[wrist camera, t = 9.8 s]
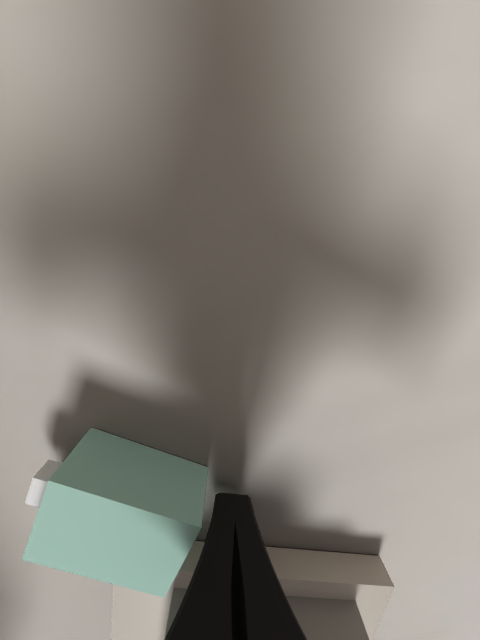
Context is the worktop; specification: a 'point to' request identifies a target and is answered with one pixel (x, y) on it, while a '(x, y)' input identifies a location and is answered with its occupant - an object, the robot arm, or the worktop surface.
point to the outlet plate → (298, 585)
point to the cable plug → (117, 513)
